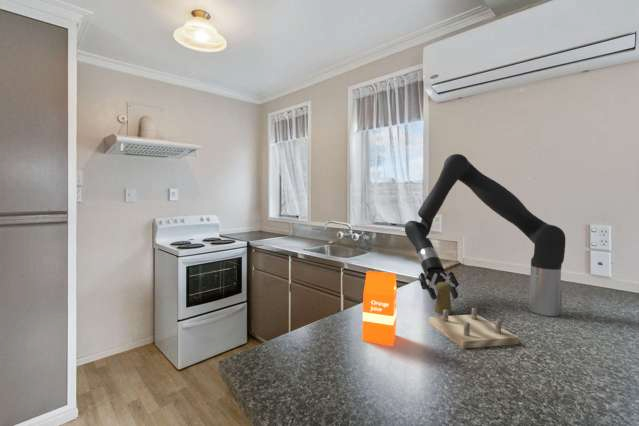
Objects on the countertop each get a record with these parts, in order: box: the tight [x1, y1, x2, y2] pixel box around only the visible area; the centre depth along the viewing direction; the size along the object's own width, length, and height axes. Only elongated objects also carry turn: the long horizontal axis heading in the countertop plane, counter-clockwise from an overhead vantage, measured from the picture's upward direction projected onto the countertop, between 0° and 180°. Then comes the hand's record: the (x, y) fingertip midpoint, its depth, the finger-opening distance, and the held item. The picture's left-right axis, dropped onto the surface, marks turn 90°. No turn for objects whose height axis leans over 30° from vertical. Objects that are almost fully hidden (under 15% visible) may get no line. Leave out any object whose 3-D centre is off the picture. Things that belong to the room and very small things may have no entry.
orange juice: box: [362, 270, 398, 347], centre depth 91 cm, size 8×9×20 cm
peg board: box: [428, 307, 520, 350], centre depth 96 cm, size 18×18×6 cm
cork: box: [434, 281, 453, 316], centre depth 114 cm, size 6×6×11 cm
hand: (445, 298), depth 113 cm, fingers open, 8 cm apart
